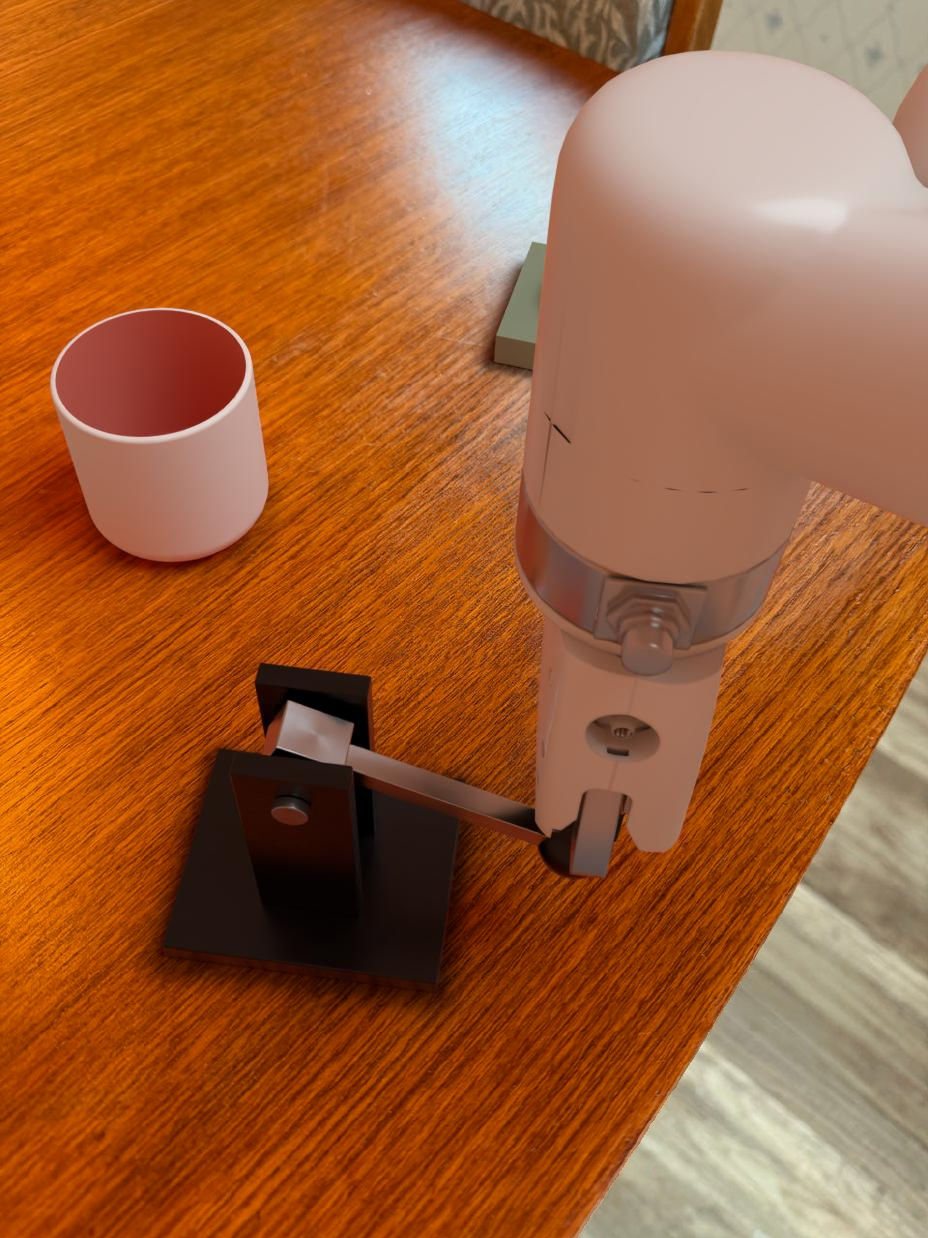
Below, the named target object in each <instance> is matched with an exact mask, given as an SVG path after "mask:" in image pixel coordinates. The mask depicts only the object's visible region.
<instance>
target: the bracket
mask: <svg viewBox="0 0 928 1238" xmlns="http://www.w3.org/2000/svg"><path fill="white" fill-rule="evenodd" d="M258 664H259V665H258V668H257V672H256V674H255V678H254V682H253V683H254V689H255V693H256V699H257V704H258V705H257V706H258V709H259V715H260V720H261V726H262V729H263V736H264V740H265V739H266V735H267V731H268V727H269V725H270V724H271V722H272V721H273V720H274V718H275V717H276V715H277V714H278V713H279V711H280V710H281V708H282V707H283V706H284V704H285V703H286V701H287V700H292V701H294V702H297V703H300V704H303V705H306V706H309V707H311V708H314V709H317V710H320V711H323V712H325V713H328V714H331V715H334V716H337V717H340V718H342V719H345V720H348V721H351V722H353V723H354V728H353V733H352V737H351V742H350V744H352V745H355V746H358V747H361V748H364V749H367V750H370V751H372V752H375V753H376V745H375V744H376V743H375V726H374V725H375V724H374V723H375V722H374V721H375V720H374V704H373V703H374V702H373V701H374V700H373V681H372V675H365V674H357V673H350V672H340V671H332V670H323V669H315V668H307V667H299V666H291V665H284V664H283V665H282V664H276V663H267V662H259V663H258ZM446 777H447V778H450V779H453V780H456V781H459V782H462V783H464V784H467V780H466V779H464V778H457V777H450V776H446ZM208 779H209V780H208V782H207V786H206V789H205V793H204V797H203V800H202V805H201V807H200V810H199V814H198V817H197V821H196V824H195V828H194V832H193V835H192V838H191V843H190V846H189V849H188V853H187V857H186V860H185V862H184V867H183V870H182V874H181V877H180V880H179V884H178V887H177V891H176V895H175V898H174V901H173V906H172V907H171V912H170V915H169V919H168V922H167V926H166V929H165V933H164V937H163V940H162V943H161V947H162V950H163V952H164V954H165V956H166V957H169V958H176V959H183V960H192V961H199V962H206V963H214V964H221V965H229V966H236V967H241V968H242V967H243V968H250V969H257V970H265V971H272V972H279V973H288V974H296V975H303V976H311V977H316V978H317V977H318V978H324V979H332V980H339V981H347V982H353V983H354V982H355V983H362V984H369V985H377V986H383V987H384V986H385V987H392V988H399V989H406V990H414V991H420V992H427V993H438V988H439V982H440V981H439V980H440V974H441V968H442V967H441V966H442V959H443V954H444V945H445V939H446V931H447V923H448V917H449V909H450V901H451V896H452V889H453V881H454V873H455V865H456V860H457V854H458V853H457V852H458V847H459V846H458V845H459V838H460V831H461V825H462V820H461V819H458V818H455V817H452V816H449V815H446V814H443V813H440V812H437V811H434V810H431V809H428V808H425V807H422V806H419V805H416V804H413V803H410V802H407V801H404V800H401V799H399V798H396V797H393V796H390V795H387V794H384V793H381V792H378V791H375V790H372V789H369V788H366V787H363V786H360V785H357V784H354V776H353V767H352V766H348V765H340V764H333V763H325V762H317V761H309V760H301V759H293V758H285V757H277V756H270V755H262V752H261V753H260V752H254V751H245V750H239V749H229V748H222V747H220V748H219V747H218V749H217V752H216V755H215V759H214V761H213V764H212V769H211V773H210V775H209V778H208Z"/></svg>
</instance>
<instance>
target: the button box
mask: <svg viewBox="0 0 928 1238" xmlns="http://www.w3.org/2000/svg"><path fill="white" fill-rule="evenodd" d="M546 244H547V243H542V242H538V241H537V242H536V241H531V244H530V247H529V249H528V251H527V254H526V257H525V258H524V259H525V260H524V261H523V264H522V267H521V270H520V272H519V275H518V278H517V280H516V283H515V285H514V288H513V290H512V293H511V295H510V298H509V301H508V302H507V306H506V307H505V311H504V313H503V316H502V319H501V321H500V324H499V326H498V329H497V331H496V334H495V343H494V358H493V362H494V363H499V364H502V365H507V366H512V367H517V368H522V369H525V370H531V371H533V364H534V355H535V345H536V336H537V327H538V318H539V309H540V299H541V290H542V281H543V272H544V263H545V253H546Z"/></svg>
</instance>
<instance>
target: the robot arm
mask: <svg viewBox="0 0 928 1238" xmlns="http://www.w3.org/2000/svg"><path fill="white" fill-rule="evenodd" d="M825 72H826V71H823V70H820V69H818V68H815V67H813V66H810V65H808V64H805V63H801V62H799V61H795V60H792V59H788V58H785V57H780V56H775V55H771V54H770V55H769V54H765V53H760V52H754V51H753V52H751V51H743V50H733V49H732V50H731V49H730V50H728V49H726V50H725V49H707V50H705V49H704V50H692V51H684V52H679V53H674V54H667V55H663V56H660V57H657V58H653V59H651V60H648V61H646V62H644V63H643V62H642V63H641V64H639V65H636V66H634V67H632V68H628V69H626V70H624V71H622V72H621V73H619V74H617V75H616V76H614V77H613V78H610V79H609V80H608V81H606V82H605V83H604V84H603V85H602V86H601V87H600V88H599V89H598V90H597V91H596V92H595V93H594V94H593V95H592V96H591V97H590V98H589V99H588V100H587V101H586V102H585V103H584V104H583V105H582V107H581V108H580V110H579V111H578V113H577V114H576V116H575V118H574V119H573V120H572V123H571V125H570V126H569V128H568V129H567V131H566V133H565V136H564V139H563V142H562V145H561V147H560V150H559V152H558V156H557V157H558V158H557V162H556V168H555V175H554V179H553V186H552V193H551V199H550V208H549V217H548V227H547V235H546V243H545V244H546V253H545V263H544V272H543V281H542V290H541V299H540V309H539V318H538V327H537V336H536V345H535V355H534V364H533V370H532V377H531V386H530V399H529V400H530V401H529V407H528V415H527V421H526V422H527V423H526V431H525V437H524V448H523V460H522V467H521V474H520V475H521V476H520V485H519V492H518V493H519V494H518V501H517V502H518V503H517V512H516V521H515V531H514V538H513V555H514V556H513V557H514V564H515V569H516V573H517V575H518V577H519V580H520V584H521V585H522V587H523V589H524V590H525V592H526V595H527V596H528V597H529V599H530V600H531V602H532V603H533V604H534V605H535V606H536V608H537V609H538V610H539V611H540V613H541V614H542V615H543V616H544V622H543V623H544V625H543V632H542V643H541V652H540V653H541V655H540V666H539V667H540V668H539V669H540V670H539V679H538V680H539V681H538V693H537V694H538V695H537V714H536V715H537V717H536V718H537V719H536V742H535V743H536V745H535V789H534V791H535V795H534V797H535V798H534V808H535V822H536V823H537V832H538V833H539V834H541V835H544V836H547V837H549V838H550V837H558V840H559V841H560V842H561V843H563V844H565V845H569V846H571V853H570V874H572V875H580V876H587V877H588V878H597V879H603V880H605V879H606V877H607V874H608V869H609V864H610V860H611V857H612V854H611V851H612V847H613V848H614V846H613V843H614V844H615V843H616V842H617V840H618V837H619V834H620V831H621V828H622V824H623V822H624V819H625V815H626V814H627V815H626V819H625V828H626V830H627V832H628V834H629V835H630V837H631V839H632V841H633V843H634V845H635V846H636V848H637V849H638V850H639V852H645V853H664V854H665V853H666V852H667V851H669V850H670V849H671V848H673V846H675V844H676V843H677V842H678V841H679V837H680V835H681V832H682V830H683V826H684V823H685V819H686V817H687V814H688V813H687V812H688V809H689V806H690V803H691V800H692V797H693V792H694V789H695V786H696V783H697V780H698V776H699V773H700V769H701V766H702V763H703V758H704V755H705V751H706V748H707V745H708V740H709V736H710V733H711V728H712V723H713V721H714V716H715V715H714V714H715V710H716V706H717V701H718V696H719V691H720V686H721V682H722V681H721V680H722V676H723V670H724V663H725V656H726V651H727V643H729V642H730V641H732V640H734V639H736V638H737V637H739V635H740V634H742V633H743V632H744V631H745V630H746V629H747V628H749V627H750V626H751V624H752V623H753V622H754V621H755V619H756V618H757V617H758V616H759V614H760V613H761V611H762V609H763V608H764V605H765V604H766V602H767V599H768V596H769V595H770V591H771V588H772V585H773V582H774V579H775V578H776V575H777V573H778V569H779V567H780V564H781V562H782V560H783V557H784V554H785V552H786V550H787V547H788V544H789V541H790V539H791V537H792V534H793V531H794V529H795V526H796V523H797V521H798V519H799V516H800V514H801V512H802V509H803V507H804V505H805V502H806V500H807V499H806V498H807V496H808V494H809V491H810V489H811V486H812V484H813V482H814V483H817V484H819V485H821V486H823V487H826V488H829V489H831V490H833V491H835V492H839V493H841V494H843V495H846V496H849V497H851V498H853V499H856V500H858V501H861V502H863V503H864V504H865V503H866V504H868V505H870V506H872V507H875V508H877V509H880V510H883V511H885V512H887V513H890V514H892V515H895V516H897V517H899V518H902V519H905V520H906V521H910V522H912V523H914V524H917V525H919V526H921V527H924V528H926V529H928V63H926V65H924V67H923V69H922V70H921V71H920V72H919V74H918V75H917V77H916V79H915V80H914V82H913V83H912V85H911V87H910V88H909V90H908V91H907V93H906V94H905V96H904V97H903V100H902V101H901V103H899V106H898V108H897V110H896V112H895V114H894V118H893V121H891V120H890V118H888V117H887V116H886V115H885V113H883V112H882V110H880V109H879V108H878V107H877V105H875V103H873V102H872V101H871V99H869V98H868V97H867V96H866V95H865V94H863V93H862V92H860V91H858V90H857V89H856V88H854V87H853V86H852V85H851V84H850V85H848V84H847V83H845V82H843V81H841V80H839V79H837V78H835V77H834V76H832V75H830V74H828V73H829V72H827V73H825ZM612 852H613V851H612ZM610 856H611V857H610Z"/></svg>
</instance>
